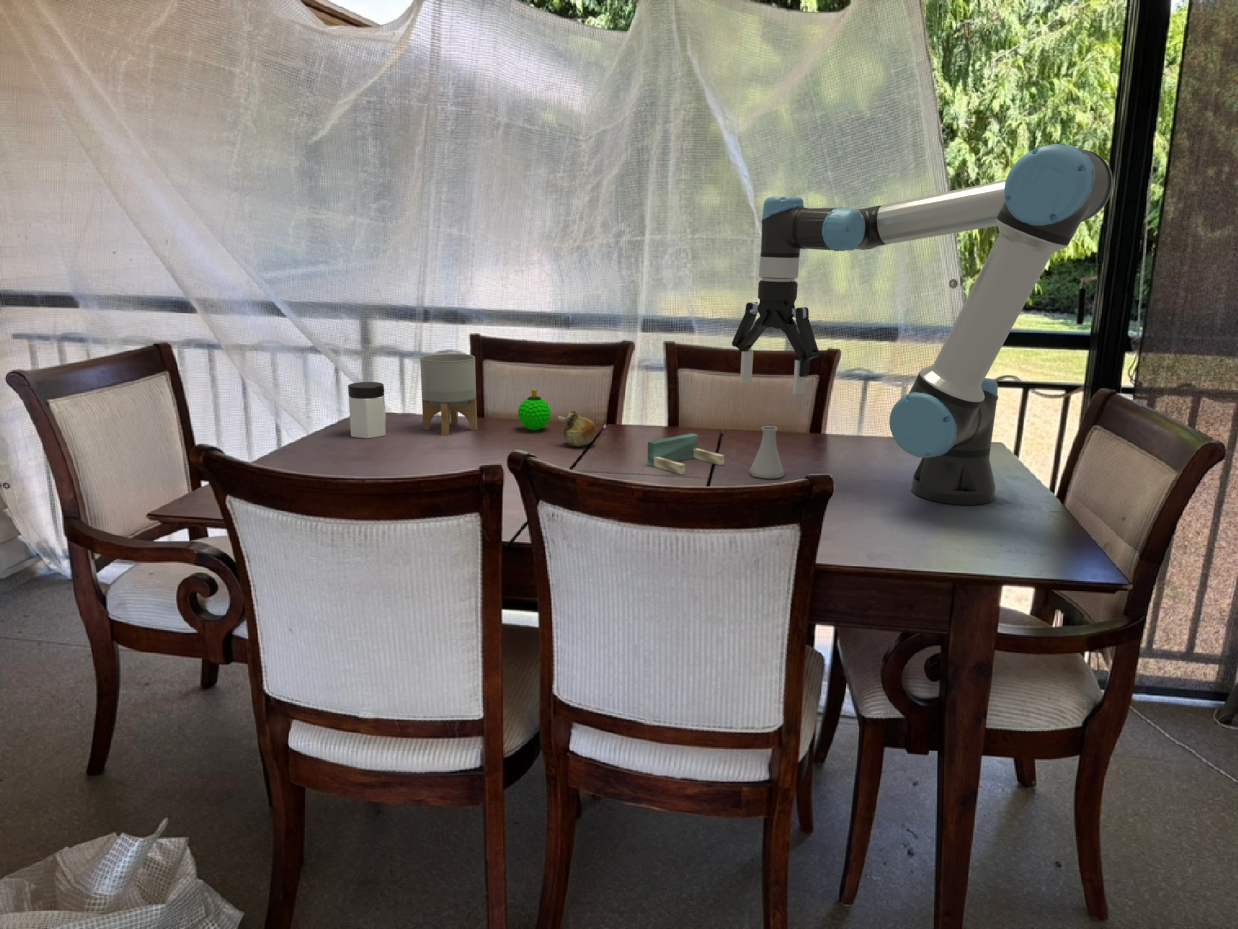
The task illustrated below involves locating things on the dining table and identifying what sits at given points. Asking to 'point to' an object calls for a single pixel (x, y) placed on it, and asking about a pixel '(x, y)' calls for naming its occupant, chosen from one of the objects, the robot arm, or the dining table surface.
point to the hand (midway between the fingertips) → (771, 387)
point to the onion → (578, 429)
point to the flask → (767, 456)
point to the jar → (367, 409)
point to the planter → (448, 389)
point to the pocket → (678, 453)
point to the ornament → (534, 412)
